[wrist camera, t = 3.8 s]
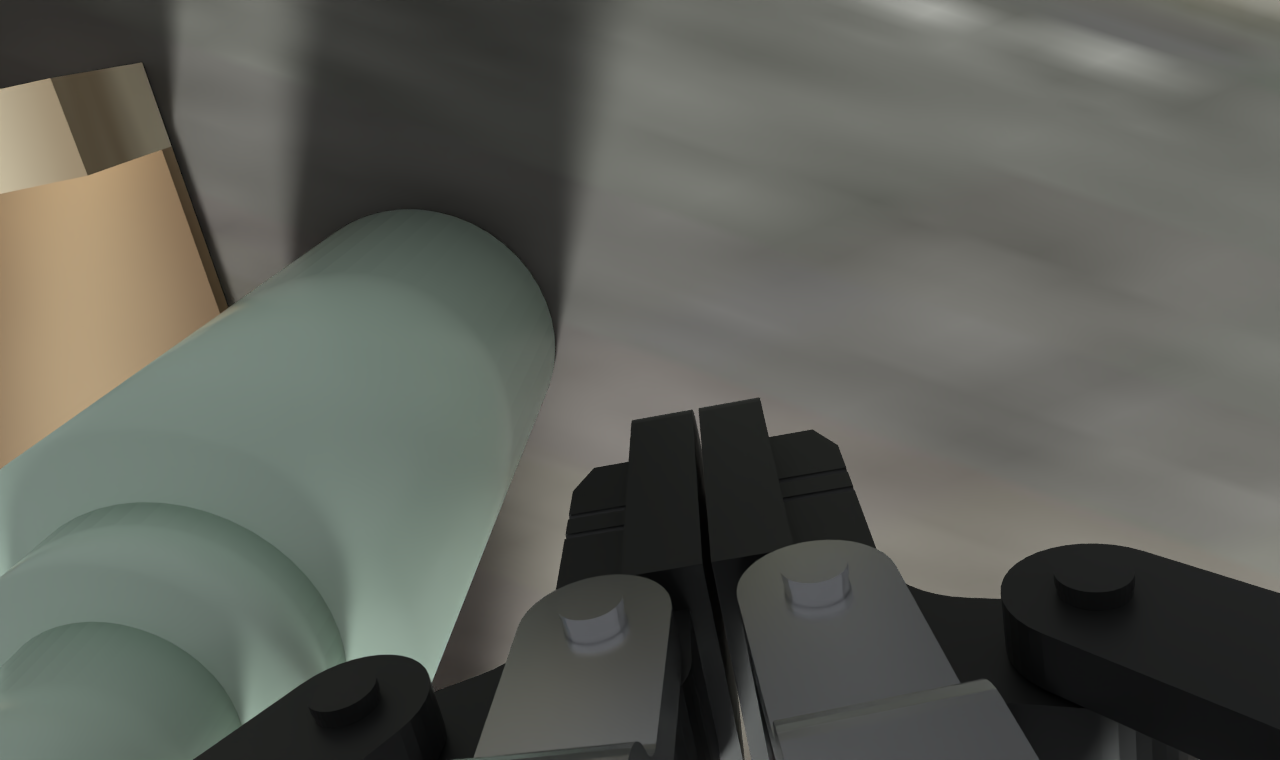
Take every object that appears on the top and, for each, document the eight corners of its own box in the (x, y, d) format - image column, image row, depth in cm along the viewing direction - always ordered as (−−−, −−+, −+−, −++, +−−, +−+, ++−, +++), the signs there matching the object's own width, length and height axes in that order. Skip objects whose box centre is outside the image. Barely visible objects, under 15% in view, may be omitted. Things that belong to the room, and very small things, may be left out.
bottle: (519, 185, 19) (38, 726, 6) (581, 442, 21) (330, 1329, 7) (252, 236, 20) (-752, 830, 6) (334, 481, 22) (-311, 1357, 8)
